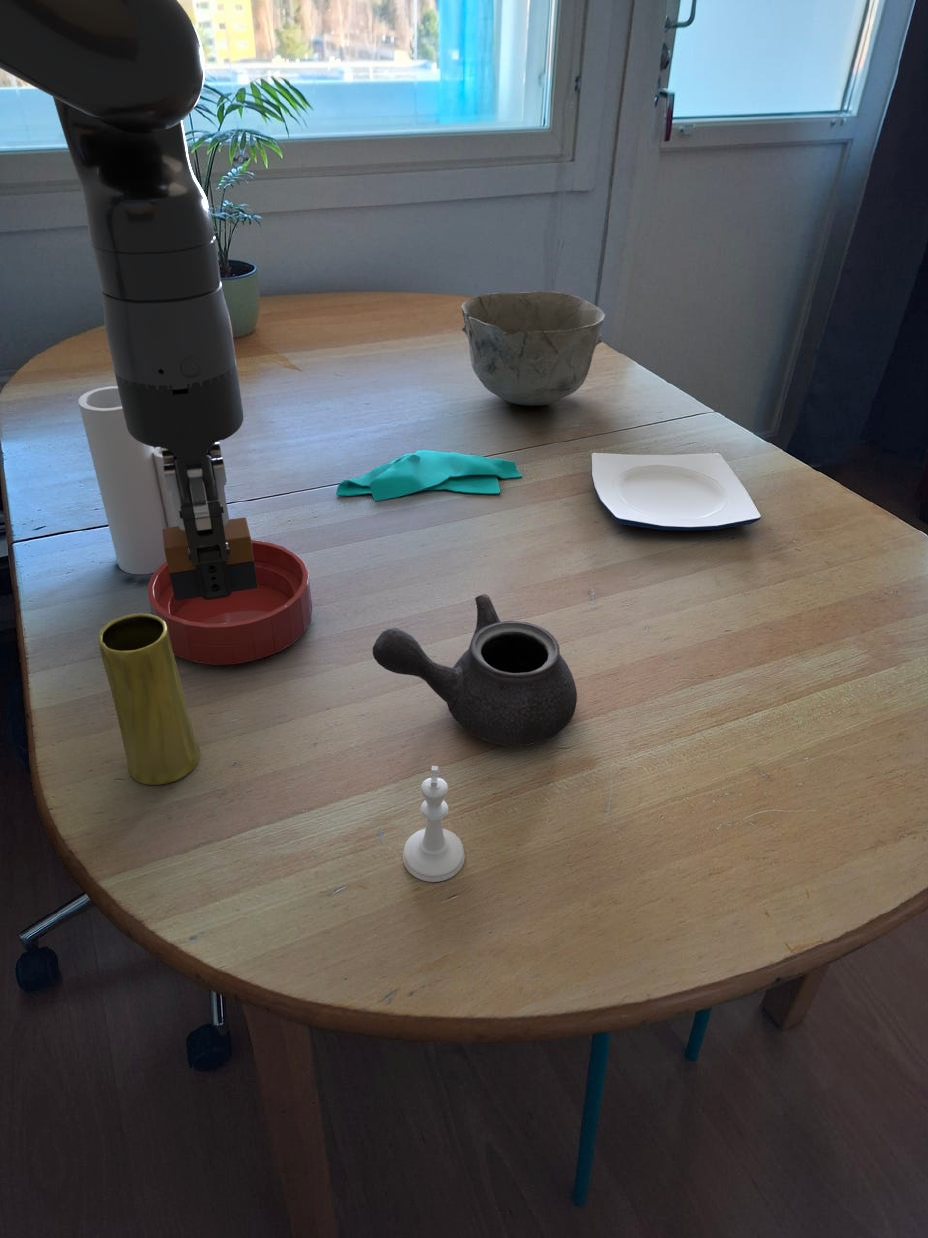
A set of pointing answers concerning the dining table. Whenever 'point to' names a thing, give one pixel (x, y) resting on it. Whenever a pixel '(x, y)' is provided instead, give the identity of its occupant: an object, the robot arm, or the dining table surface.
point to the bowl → (531, 343)
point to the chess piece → (433, 837)
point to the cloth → (431, 475)
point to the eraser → (185, 572)
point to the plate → (672, 491)
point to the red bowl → (238, 611)
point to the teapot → (494, 678)
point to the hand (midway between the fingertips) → (214, 582)
